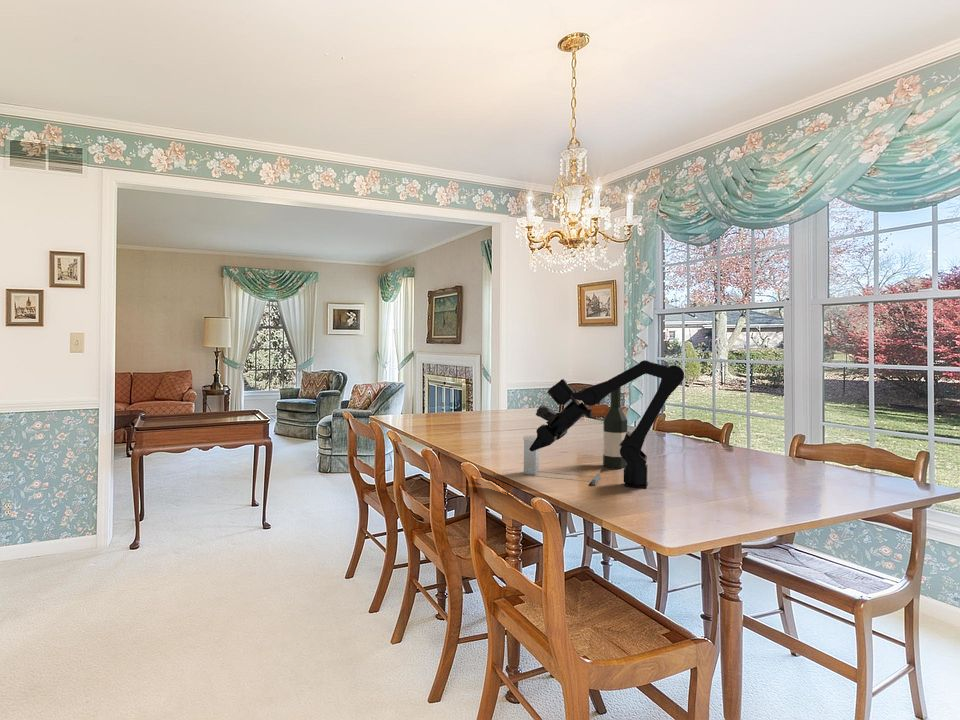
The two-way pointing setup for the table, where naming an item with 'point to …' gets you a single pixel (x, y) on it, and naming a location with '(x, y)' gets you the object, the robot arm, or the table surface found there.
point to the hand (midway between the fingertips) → (534, 447)
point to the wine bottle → (614, 433)
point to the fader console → (593, 482)
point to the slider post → (530, 456)
